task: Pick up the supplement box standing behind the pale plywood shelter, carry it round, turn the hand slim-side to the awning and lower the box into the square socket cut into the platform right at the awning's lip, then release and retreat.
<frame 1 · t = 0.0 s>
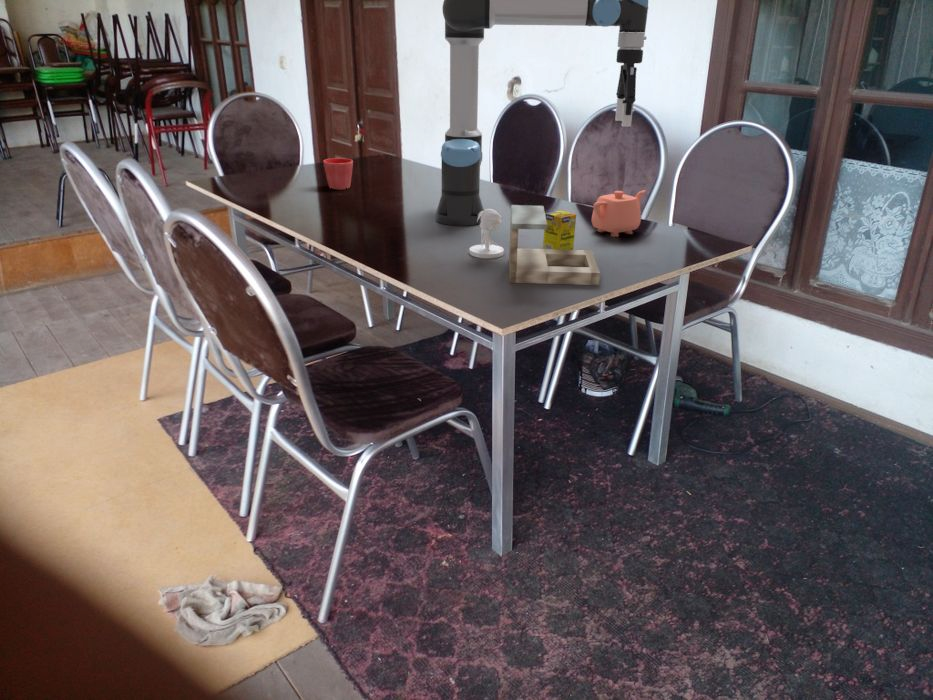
hand: (622, 123, 216), 28 cm above the table, fingers open, 13 cm apart
teapot: (616, 232, 208), on the table
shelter: (551, 271, 174), on the table
supplement box: (557, 254, 187), on the table
flower pot: (339, 187, 259), on the table
figurine: (486, 253, 187), on the table
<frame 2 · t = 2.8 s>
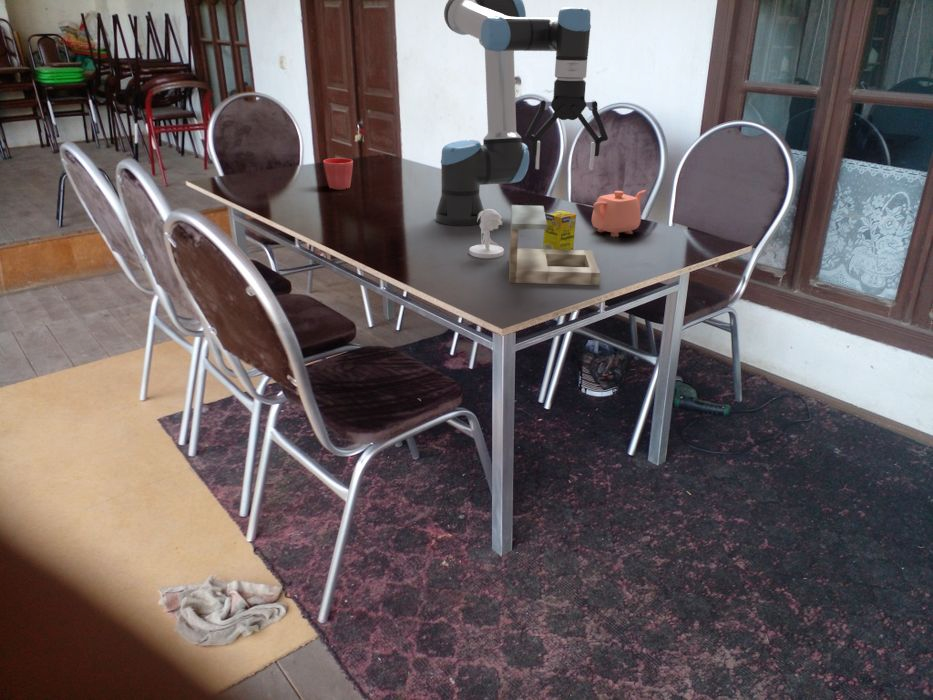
hand: (564, 169, 178), 22 cm above the table, fingers open, 13 cm apart
nothing on the table moved.
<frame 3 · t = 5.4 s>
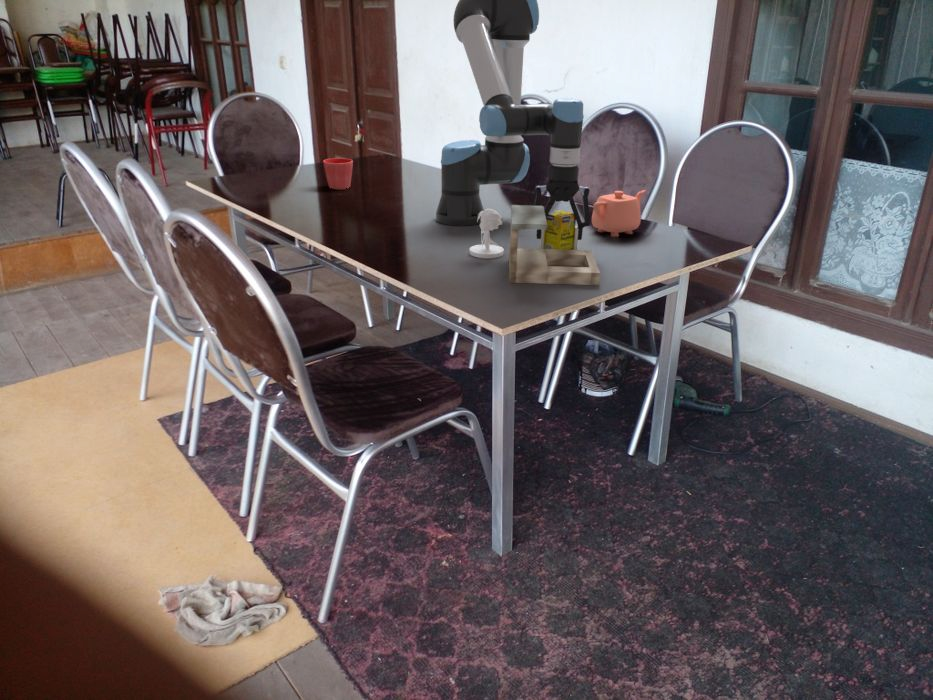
hand: (558, 250, 187), 1 cm above the table, fingers closed on supplement box, 8 cm apart
supplement box: (557, 254, 187), on the table, touching gripper
everything else where it was.
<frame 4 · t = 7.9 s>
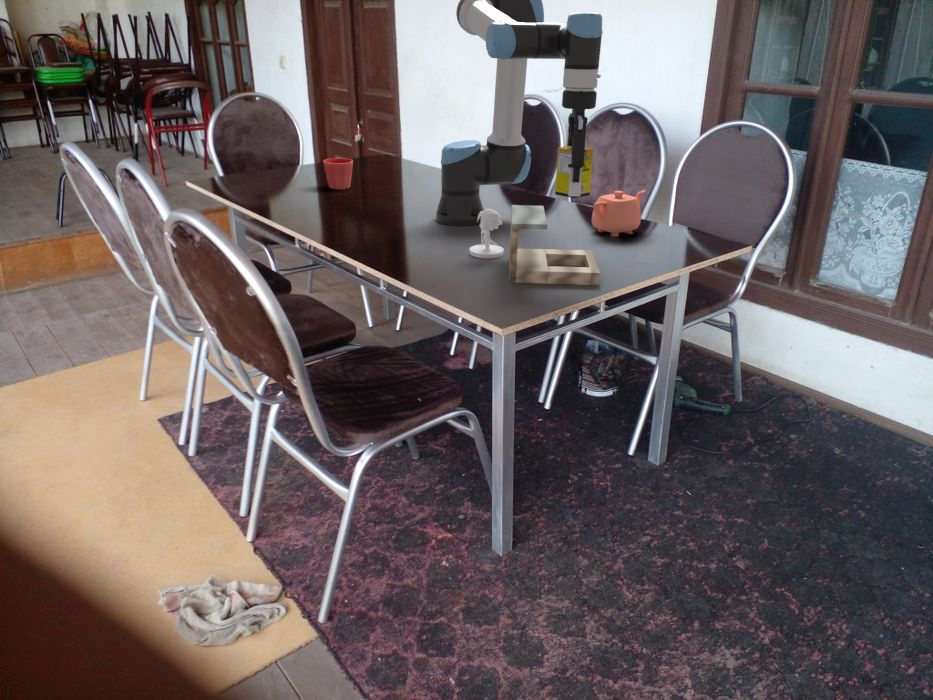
hand: (572, 191, 165), 20 cm above the table, fingers closed on supplement box, 8 cm apart
supplement box: (572, 196, 166), point 19 cm above the table, touching gripper
everything else where it was.
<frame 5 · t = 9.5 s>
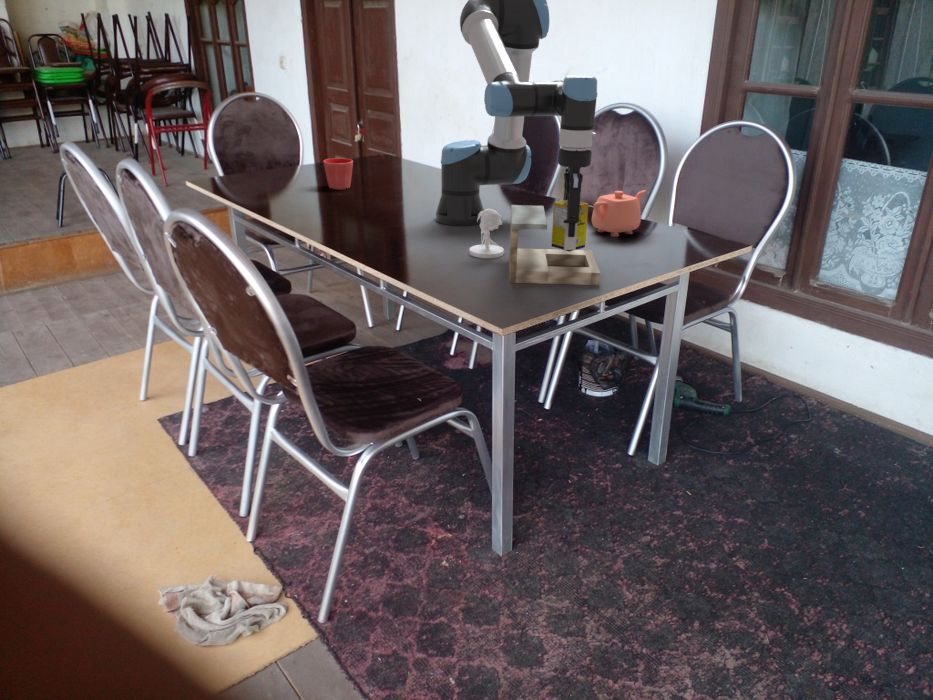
hand: (568, 243, 170), 7 cm above the table, fingers closed on supplement box, 8 cm apart
supplement box: (568, 247, 171), point 6 cm above the table, touching gripper
everything else where it was.
when the fingers open (3 cm above the table, at t = 10.7 s): supplement box drops 2 cm, resting in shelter.
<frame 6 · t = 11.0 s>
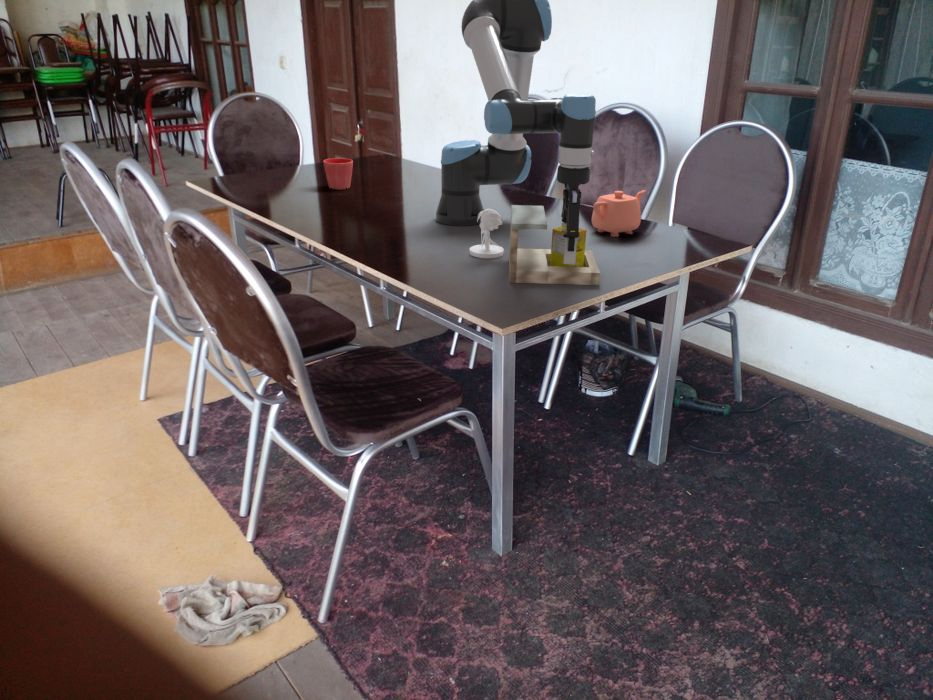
hand: (567, 256, 172), 4 cm above the table, fingers open, 11 cm apart
supplement box: (566, 273, 173), resting in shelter
everything else where it was.
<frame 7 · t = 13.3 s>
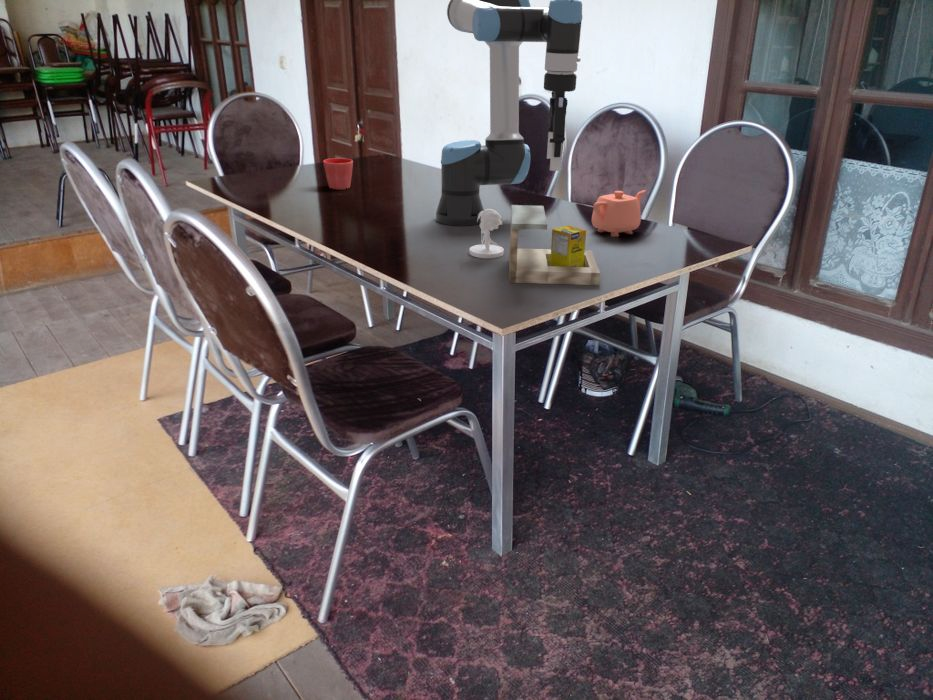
hand: (553, 164, 174), 24 cm above the table, fingers open, 13 cm apart
nothing on the table moved.
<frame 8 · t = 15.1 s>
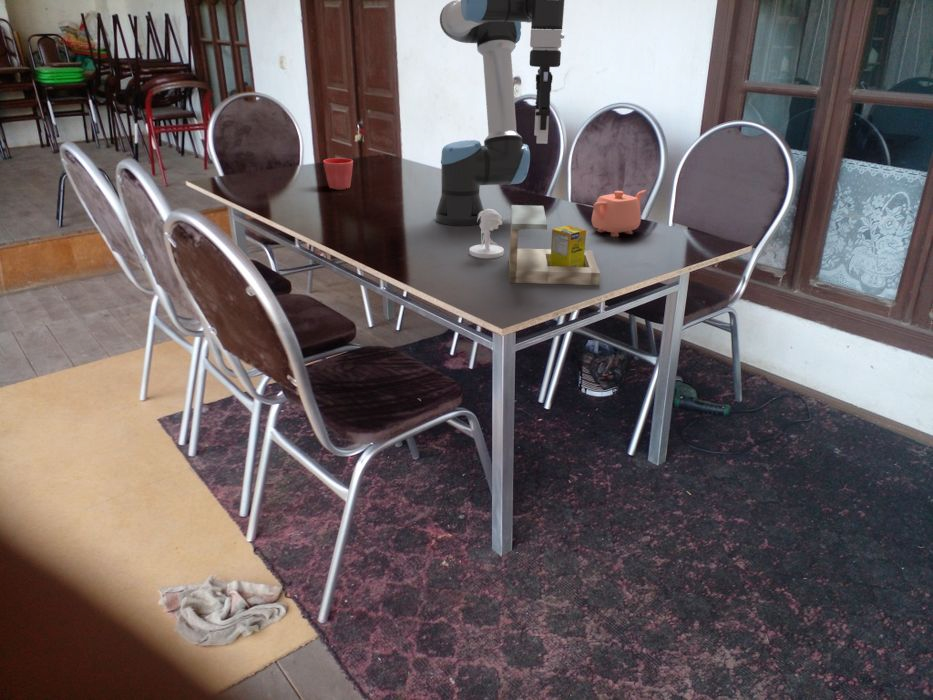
hand: (540, 139, 180), 29 cm above the table, fingers open, 13 cm apart
nothing on the table moved.
at the end: supplement box 0.2 cm from the target spot on the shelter, point 0.0 cm above the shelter's base; supplement box tilted 0°; the gripper is holding nothing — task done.
